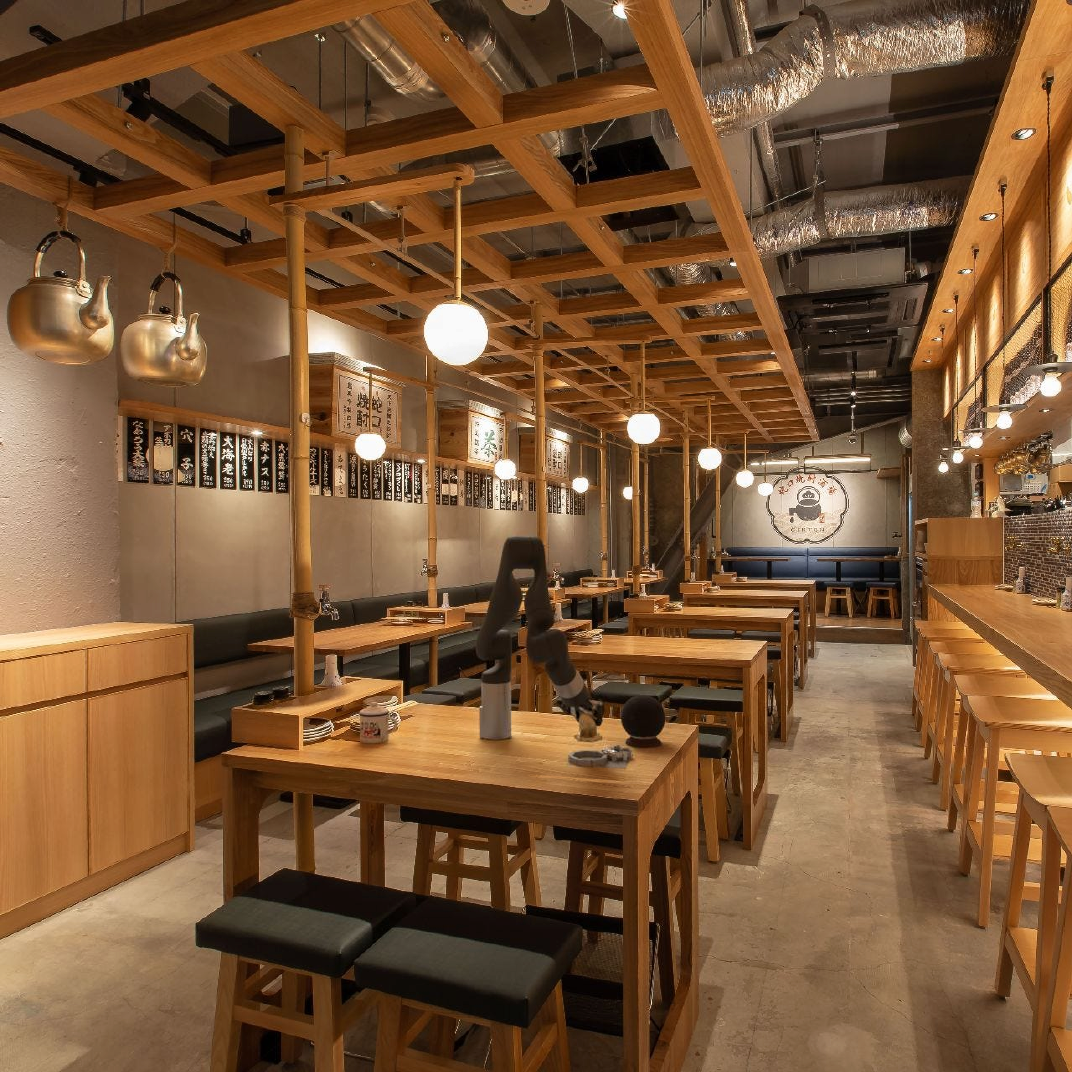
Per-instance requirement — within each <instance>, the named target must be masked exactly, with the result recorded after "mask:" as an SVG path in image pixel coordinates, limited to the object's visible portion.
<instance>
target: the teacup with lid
mask: <svg viewBox="0 0 1072 1072" xmlns="http://www.w3.org/2000/svg"><path fill="white" fill-rule="evenodd" d="M358 714H359V741H360V742H361V743H363V744H379V743H380V744H381V743H385V742H387V741H388V740H389V735H390V734H392V733H394V732H395V731H396V730H397V727H398V720H397V719H396V718H395V717H392V716H389V714H390V711H389V709H388V708H386V707H383V706H381V705H379V704H378V702H376V701H373V702H371V703H370V705H369V706H367V707H365V708H363V709H361V710H359V713H358ZM389 720H390V721H392V722H393V724H394V725H393V728H392V730H389Z"/></svg>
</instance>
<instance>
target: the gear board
mask: <svg viewBox="0 0 1072 1072" xmlns="http://www.w3.org/2000/svg"><path fill="white" fill-rule="evenodd" d="M633 756H634V754H633V753H632V757H633ZM567 757H568V760H567V763H566V764H565V765H568V766H569V765H570V766H582V767H593V768H594V767H596V768H597V767H598V768H610V769H625V770H626V768H627V767H628V765H629V763H630V761H631V759H632V758H631V759H627V761H612V760H608V754H603V752H602V750H597V749H596V750H593V749H581V750H574V751H571V752H570V753H568V756H567Z"/></svg>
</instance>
